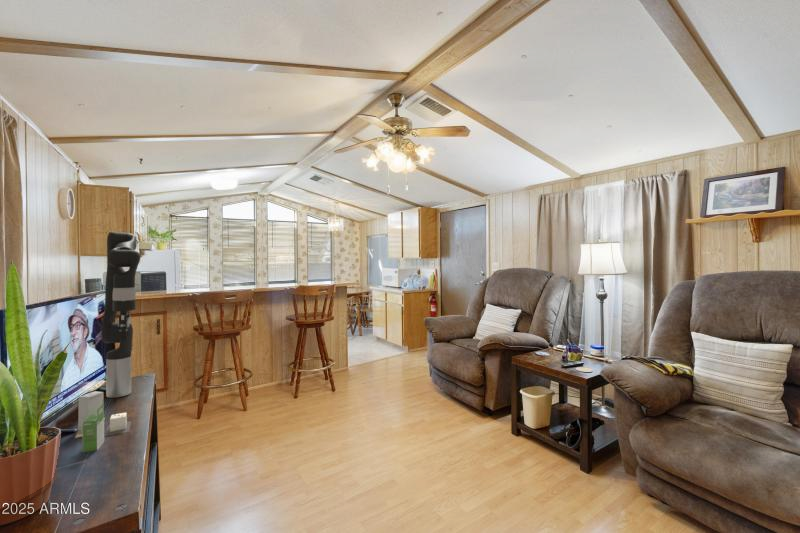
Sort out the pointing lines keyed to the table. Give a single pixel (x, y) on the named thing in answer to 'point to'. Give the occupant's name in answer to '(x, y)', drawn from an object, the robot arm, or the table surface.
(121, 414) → the die
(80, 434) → the board
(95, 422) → the ink box
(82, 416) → the skincare box
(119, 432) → the mat
